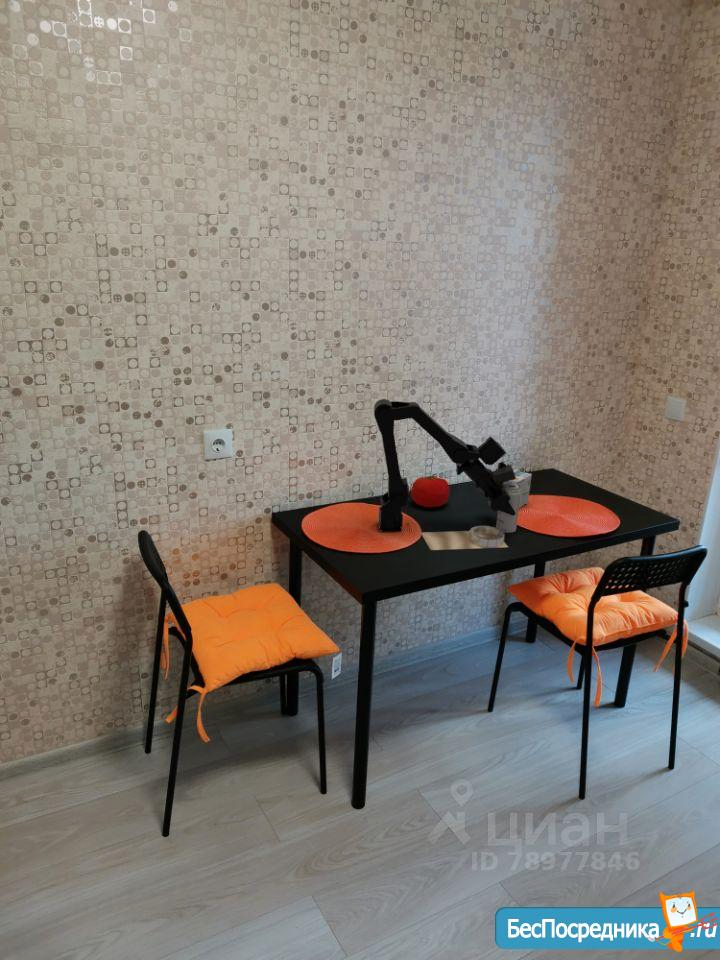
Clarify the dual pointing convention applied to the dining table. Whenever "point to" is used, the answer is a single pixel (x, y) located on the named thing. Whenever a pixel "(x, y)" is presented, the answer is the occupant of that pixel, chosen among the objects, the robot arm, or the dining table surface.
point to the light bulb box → (522, 485)
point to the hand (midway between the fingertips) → (512, 510)
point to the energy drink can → (508, 521)
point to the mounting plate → (452, 540)
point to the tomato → (430, 491)
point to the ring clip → (486, 541)
